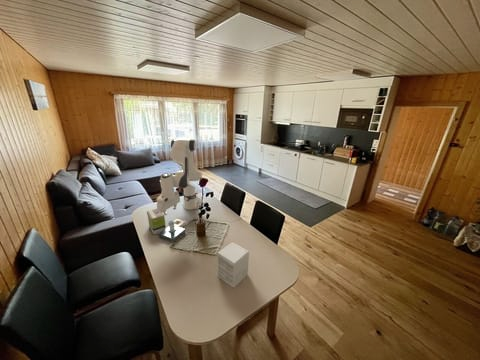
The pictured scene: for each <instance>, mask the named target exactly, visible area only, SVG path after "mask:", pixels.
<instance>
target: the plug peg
mask: <svg viewBox="0 0 480 360" xmlns="http://www.w3.org/2000/svg"><path fill="white" fill-rule="evenodd" d="M168 227H169V228H170V233H171V234H173V233H174V232H175V229H174V220H170V221H169V222H168Z"/></svg>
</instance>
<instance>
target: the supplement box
mask: <svg viewBox="0 0 480 360" xmlns="http://www.w3.org/2000/svg"><path fill="white" fill-rule="evenodd" d="M249 255H250V251H249V250H248V249H246V248H245V247H244V248H243V247H242V246H240V245H239V244H237V243H235V242H233V241H231V243H228V244H227V245H226V246H224V247H223V248H221V249H220V250H219V251H218V252H217V277H218V278H220V279H221V280H222V281H224V282H225V283H226V284H227V285H229V286H230V287H231V288H233V289H235V288H236V287H237V286H238V285H239V284H240V283H241V282H242V281H243V280H244V279H245V278H246V277H247V276H248V275H249V257H250V256H249Z"/></svg>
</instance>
